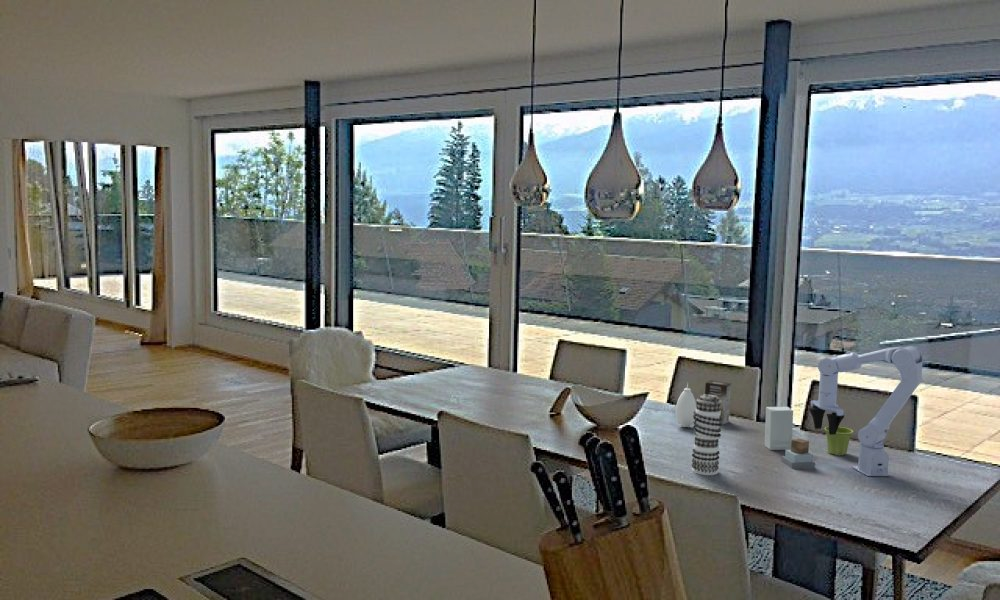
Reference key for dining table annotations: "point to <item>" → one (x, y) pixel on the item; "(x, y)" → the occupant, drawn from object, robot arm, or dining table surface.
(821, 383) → the robot arm
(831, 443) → the plant pot
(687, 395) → the sauce bottle
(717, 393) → the coffee box
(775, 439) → the skincare box
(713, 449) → the decorative candle
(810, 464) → the base slab
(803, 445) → the walnut cube
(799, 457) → the top slab
